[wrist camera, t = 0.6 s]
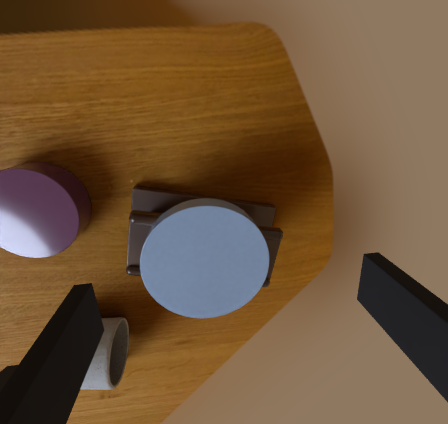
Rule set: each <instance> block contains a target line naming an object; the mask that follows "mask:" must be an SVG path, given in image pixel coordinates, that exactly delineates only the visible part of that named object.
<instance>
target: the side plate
mask: <svg viewBox="0 0 448 424" xmlns="http://www.w3.org/2000/svg"><path fill="white" fill-rule="evenodd" d="M268 268H269V250H268V246H267V243H266V241H265V238H264V236H263V234H262V233H261V231H260V229H259V227H258V226H257V224H256V222H255V221H254V220H253V219H252V218H251V216H250V215H249V214H247V213H246V212H245V211H244V210H242V209H241V208H239V207H238V206H236V205H234V204H232V203H229V202H226V201H223V200H218V199H210V198H201V199H194V200H189V201H186V202H182V203H180V204H178V205H176V206H174V207H172V208H170V209H169V210H167V211H166V212H165V213H163V214H162V215H161V216H160V217H159V218H158V219H157V220H156V221H155V223H154V224H153V226H152V227H151V229H150V231H149V233H148V235H147V237H146V240H145V242H144V245H143V248H142V251H141V256H140V272H141V277H142V280H143V283H144V285H145V287H146V289H147V290H148V292H149V293H150V295H151V296H152V297H153V298H154V299H155V300H156V301H157V302H158V303H159V304H160V305H162V306H163V307H165V308H166V309H168V310H170V311H172V312H174V313H176V314H179V315H182V316H186V317H192V318H212V317H218V316H222V315H225V314H228V313H230V312H233V311H235V310H237V309H239V308H240V307H242V306H243V305H245V304H246V303H248V302H249V301H250V300H251V299H252V298H253V297H254V296H255V295H256V294H257V292H258V291H259V290H260V288H261V287H262V285H263V283H264V281H265V279H266V276H267V273H268Z"/></svg>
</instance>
